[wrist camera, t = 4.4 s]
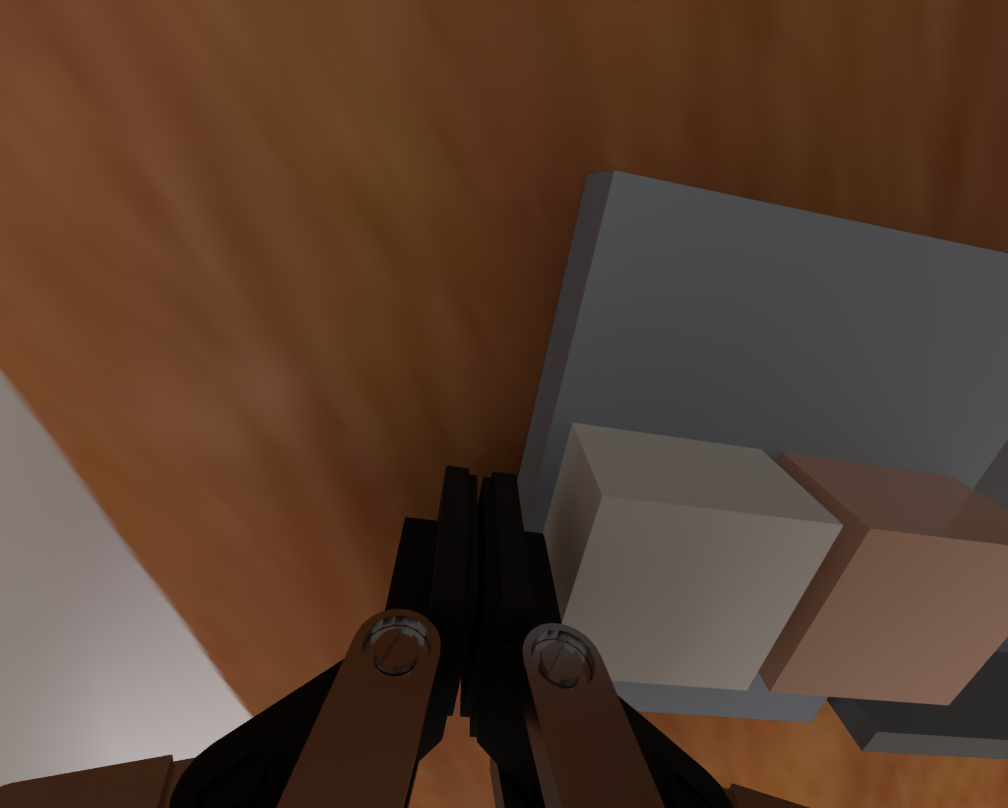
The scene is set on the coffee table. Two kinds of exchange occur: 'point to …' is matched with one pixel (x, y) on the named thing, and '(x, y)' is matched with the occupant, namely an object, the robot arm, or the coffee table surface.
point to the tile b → (895, 587)
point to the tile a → (680, 554)
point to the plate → (767, 353)
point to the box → (969, 717)
